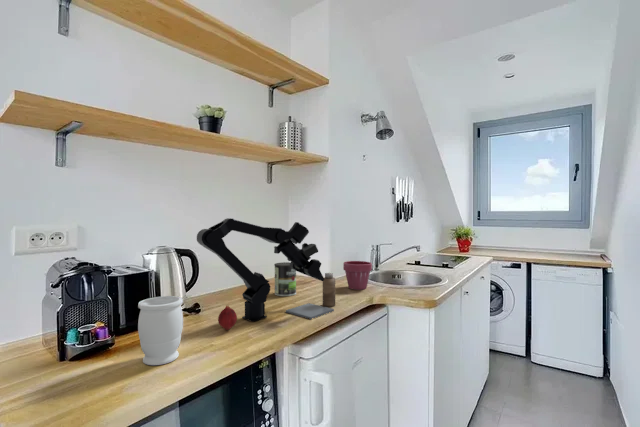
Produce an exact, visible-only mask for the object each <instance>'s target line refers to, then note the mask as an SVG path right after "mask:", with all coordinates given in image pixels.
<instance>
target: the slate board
mask: <svg viewBox="0 0 640 427" xmlns="http://www.w3.org/2000/svg"><path fill="white" fill-rule="evenodd" d="M332 311H333V312H334V311H335V309H334V308H333V307H324V306H323V305H318V304H315V303H309V302H308V303H305V304H301V305H298V306H296V307H292V308H288V309H285V313H287V314H289V315H290V314H291V315H295V316H298V317H302V318H304V317H305V318H306V319H308V318H309V320H313V319H312V318H314V319H316V318H319V317H322V316H324V315H323V314H325V315H327V314H330V313H333V312H332ZM329 312H330V313H329ZM326 313H327V314H326ZM321 315H322V316H321ZM318 316H319V317H318ZM315 317H316V318H315ZM305 318H304V319H305Z"/></svg>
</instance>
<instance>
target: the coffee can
mask: <svg viewBox="0 0 640 427" xmlns="http://www.w3.org/2000/svg"><path fill="white" fill-rule="evenodd" d="M290 262H291V261H288V262H287V261H286V262H285V261H283V262H276V263H274V265H273V266H274V296H277V297H292V296H296V295H297V271H295V270H293V269H292V268H291V267H290Z"/></svg>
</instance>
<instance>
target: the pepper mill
mask: <svg viewBox="0 0 640 427" xmlns="http://www.w3.org/2000/svg"><path fill="white" fill-rule="evenodd" d="M322 306H323V307H328V308H333V307H336V277H334V273H332V272H326V273H325V272H324V281H322Z"/></svg>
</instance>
